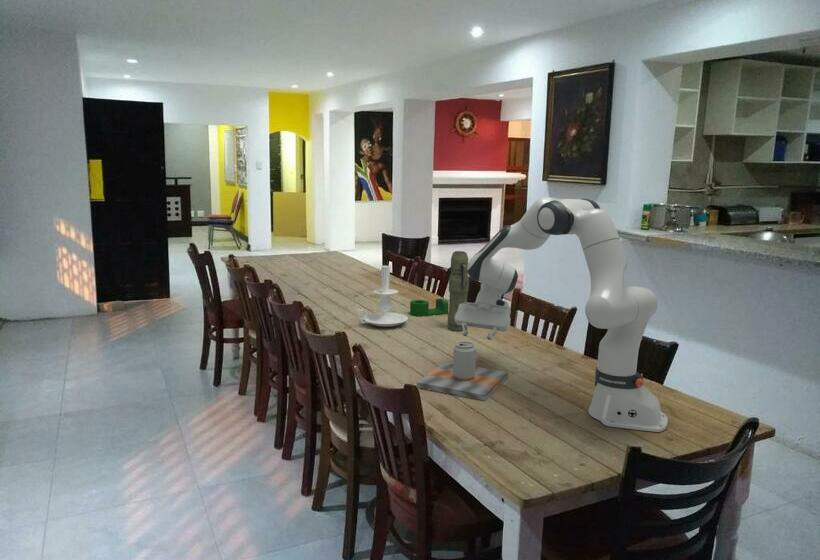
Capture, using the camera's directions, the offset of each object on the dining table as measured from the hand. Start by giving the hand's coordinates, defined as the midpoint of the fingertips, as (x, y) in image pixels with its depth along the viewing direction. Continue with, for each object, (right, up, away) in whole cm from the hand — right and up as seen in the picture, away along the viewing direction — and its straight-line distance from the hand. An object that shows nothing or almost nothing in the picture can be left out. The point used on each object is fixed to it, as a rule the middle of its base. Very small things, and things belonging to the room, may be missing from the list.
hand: (476, 337), depth 221 cm
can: (-5, -13, -9) cm, 17 cm away
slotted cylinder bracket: (-15, +3, +84) cm, 86 cm away
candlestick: (-37, 0, +62) cm, 73 cm away
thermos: (-3, -2, +58) cm, 58 cm away
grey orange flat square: (-6, -15, -8) cm, 18 cm away
